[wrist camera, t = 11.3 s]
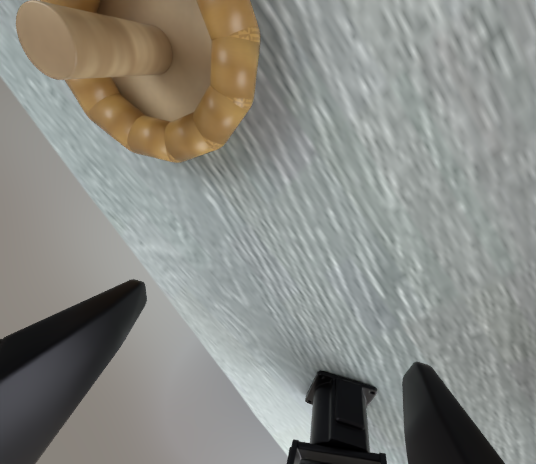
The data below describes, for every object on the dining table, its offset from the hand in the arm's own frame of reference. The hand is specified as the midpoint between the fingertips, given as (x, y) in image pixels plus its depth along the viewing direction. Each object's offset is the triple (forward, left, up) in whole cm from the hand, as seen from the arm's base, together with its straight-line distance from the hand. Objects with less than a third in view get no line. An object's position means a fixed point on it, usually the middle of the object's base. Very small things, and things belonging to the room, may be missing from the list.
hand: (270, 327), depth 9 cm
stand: (+6, +11, -13) cm, 18 cm away
